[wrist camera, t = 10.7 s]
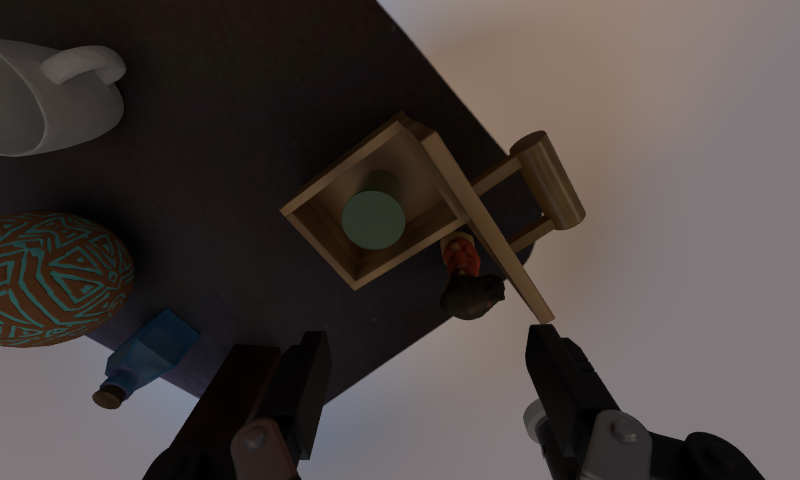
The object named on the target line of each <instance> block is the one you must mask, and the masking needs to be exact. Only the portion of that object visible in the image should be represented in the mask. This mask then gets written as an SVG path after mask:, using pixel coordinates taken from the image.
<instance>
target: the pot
mask: <svg viewBox="0 0 800 480" xmlns="http://www.w3.org/2000/svg"><path fill="white" fill-rule="evenodd" d="M341 222H342V227H343V230H344V232H345V234H346V235H347V236H348V238H349V239H350V240H351V241H352V242H354V243H355V244H356V245H358V246H360V247H363V248H366V249H372V250H377V249H383V248H387V247H389V246H391V245H392V244H394V243H395V242H396V241H397V240H398V239H399V238H400V237H401V235H402V234H403V232H404V229H405V222H406V218H405V212H404V209H403V187H402V184H401V182H400V180H399V179H398V178H397V177H396V176H395V175H394V174H392V173H391V172H388V171H386V170H372V171H370V172H368V173H366V174H364V175H363V176H362V177H361V178H360V180H359V182H358V184H357V186H356V188H355V190H354V192H353V195H352V196H351V197H350V198H349V199H348V201H347V202H346V204H345V206H344V208H343V210H342V215H341Z"/></svg>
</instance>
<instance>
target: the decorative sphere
mask: <svg viewBox="0 0 800 480" xmlns="http://www.w3.org/2000/svg"><path fill="white" fill-rule="evenodd" d="M133 281H134V265H133V260H132V258H131V255H130V253H129V251H128V249H127V247H126V246H125V245H124V243H123V242H122V241H121V240H120V238H119V237H117V236H116V235H115V234H114V233H113V232H112V231H110V230H109V229H107V228H106V227H104V226H102V225H101V224H99V223H96V222H93V221H91V220H90V219H85V218H83V217H82V216H78V215H73V214H69V213H64V212H57V211H27V212H19V213H12V214H8V215H4V216H0V346H5V347H18V348H28V347H40V346H50V345H54V344H58V343H62V342H66V341H69V340H72V339H75V338H78V337H81V336H83V335H85V334H87V333H89V332H91V331H93V330H95V329H96V328H98V327H99V326H101V325H102V324H104V323H105V322H107V321H108V320H109V319H110V318H112V317H113V316H114V315H115V314H116V313H117V312H118V310H119V309H120V308H121V307H122V306H123V304H124V302H125V301H126V300H127V298H128V296H129V294H130V292H131V289H132V285H133Z"/></svg>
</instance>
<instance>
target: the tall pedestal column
mask: <svg viewBox="0 0 800 480" xmlns="http://www.w3.org/2000/svg"><path fill="white" fill-rule="evenodd" d="M280 359H281V356H280V348H272V347H261V346H250V345H240V344H235V345H234V347H233V348H232V350H231V351H230V353H229V354H228V356H227V358H226V359H225V361H224V362H223V364H222V365H221V367H220V368H219V370H218V372H217V373H216V375H215V376H214V378H213V379H212V381H211V383H210V384H209V386H208V387H207V389H206V390H205V392H204V393H203V395H202V397H201V398H200V400H199V402H198V403H197V404H196V406H195V407H194V409H193V411H192V412H191V414H190V415H189V417H188V418H187V420H186V422H185V423H184V425H183V426H182V428H181V429H180V431H179V433H178V434H177V436H176V437H175V439H174V440H173V442H172V444H171V445H170V447H171V446H172V445H174V444H176V443H179V442H182V441H195V442H197V443H198V444H199V445H200V447H201V449H203V448H206V447H209V446H212V445H215V444H218V443H221V442H224V441H227V440H229V439H232V438H233V437H234V436H235V434H236V433H237V432H238V431H239V430H240V429H241V428H242V427H243V426H244V425H245V424H246V423H248V422H250V421H252V420H253V419H254V417H255V415H256V413H257V411H258V409H259V406H260V404H261V402H262V400H263V397H264V395H265V393H266V391H267V388H268V386H269V384H270V382H271V380H272V379H273V375H274V373H275V370H277V366H278V364H279V361H280Z"/></svg>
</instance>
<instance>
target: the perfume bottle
mask: <svg viewBox="0 0 800 480" xmlns="http://www.w3.org/2000/svg"><path fill="white" fill-rule="evenodd" d="M199 336H200V334H199V333H197V332H196V331H195V330H194V329H192V328H191V327H190V326H189V325H187V324H186V323H185V322H184V321H182V320H181V319H180V318H179V317H177V316H176V315H175V314H174V313H172V312H171V311H170V310H169V309H166V310H164V311H163V312H161V313H160V314H159V315H157V316H156V317H154V318H153V319H151V320H150V321H149V322H147V323H146V324H144V325H143V326H141V327H140V328H139V329H138V330H137V331H136V332H135V333H134V334H133V335H132V336H131V337H130V338H129V339H128V340H127V341H125V342H124V343H123V344H122V345H121V346H120V347H119V348H118V349H117V350H116V351H115V352H114V353H113V354H112V355H111V356H110V357H109V358H108V361H107V366H106V371H105V375H106V376H108V378H107V379H106V380H105V381H104V382H103V383H102V385H100V390H98V391H97V392H95V393H94V394H93V396H92V398H93V400H94V402H95V403H96V404H98V405H99V406H101V407H103V408H106V409H116V408H118V407H119V406H120V405H121V403H122V402H123V401H125V400H126V399H128V398H129V397H130V396H131V395H132V393H133V392H134V391H135V390H137V389H139V388H141V387H143V386H145V385H147V384H148V383H150V382H152V381H153V380H155V379H157V378H158V377H160V376H161V375H163V374H165V373H166V372H168V371H170V370H171V369H173V368H174V367H175V366H176V365H177V364H178V363H179V361H180V360H181V359H182V358H183V356H184V355H185V354H186V353H187V351H188V350H189V349H190V348H191V346H192V345H193V344H194V343H195V341H196V340H197V339H198V338H199Z"/></svg>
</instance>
